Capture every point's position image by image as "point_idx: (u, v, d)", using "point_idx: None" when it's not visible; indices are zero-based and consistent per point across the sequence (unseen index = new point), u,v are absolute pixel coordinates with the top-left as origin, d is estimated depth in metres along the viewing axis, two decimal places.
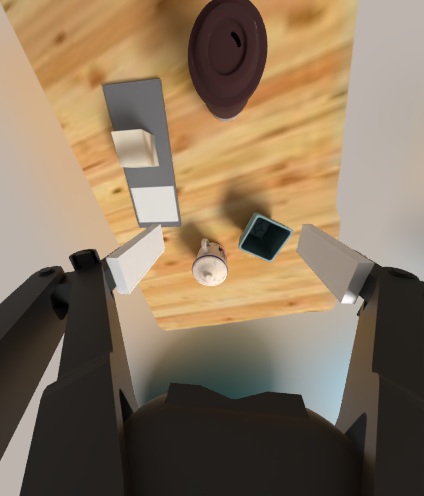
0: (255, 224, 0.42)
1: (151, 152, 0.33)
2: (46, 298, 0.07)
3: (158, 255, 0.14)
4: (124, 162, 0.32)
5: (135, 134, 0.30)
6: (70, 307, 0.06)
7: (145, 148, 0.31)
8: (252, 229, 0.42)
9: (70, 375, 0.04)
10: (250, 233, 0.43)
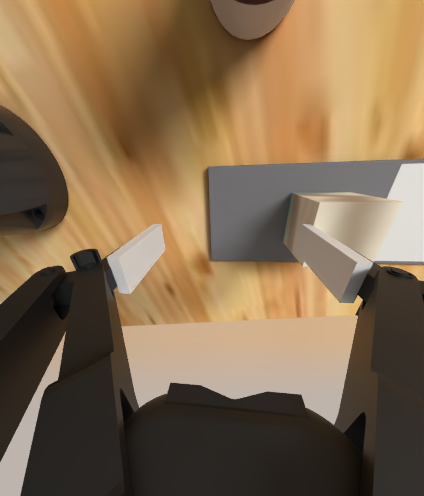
0: None
1: (345, 196, 0.14)
2: (47, 298, 0.07)
3: (159, 255, 0.15)
4: (366, 257, 0.14)
5: (325, 218, 0.13)
6: (71, 307, 0.06)
7: (358, 201, 0.12)
8: None
9: (71, 375, 0.04)
10: None
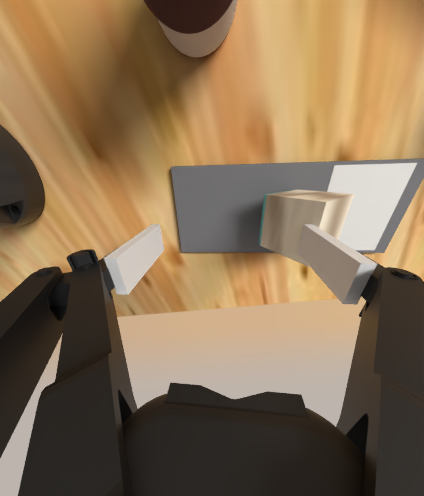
0: None
1: (314, 194, 0.16)
2: (44, 299, 0.07)
3: (157, 255, 0.14)
4: None
5: (326, 216, 0.13)
6: (68, 308, 0.06)
7: (337, 196, 0.14)
8: None
9: (68, 376, 0.04)
10: None
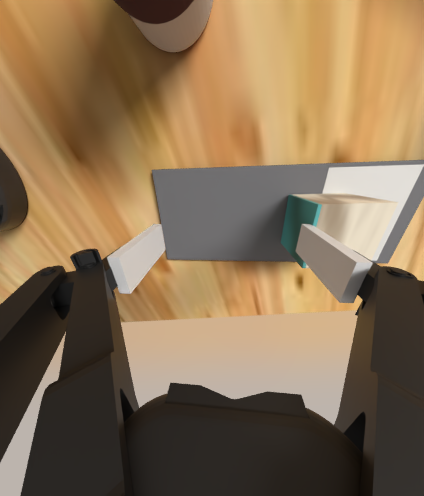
0: None
1: (334, 196, 0.15)
2: (48, 298, 0.07)
3: (159, 255, 0.15)
4: None
5: None
6: (71, 306, 0.06)
7: (361, 196, 0.15)
8: None
9: (71, 374, 0.04)
10: None
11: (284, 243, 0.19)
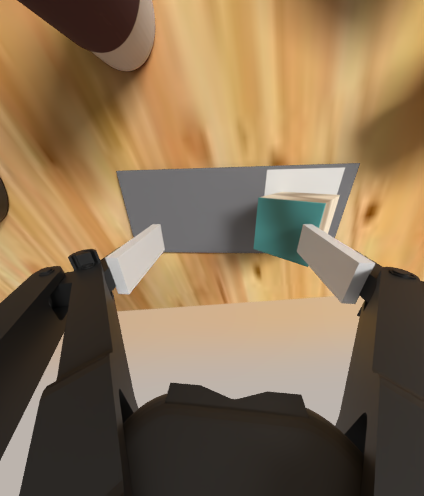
0: None
1: (295, 195, 0.17)
2: (46, 298, 0.07)
3: (158, 255, 0.14)
4: None
5: None
6: (69, 307, 0.06)
7: (306, 193, 0.18)
8: None
9: (70, 375, 0.04)
10: None
11: (263, 248, 0.18)
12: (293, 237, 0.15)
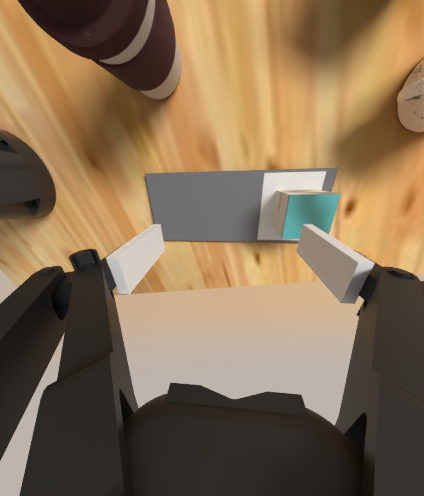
0: None
1: (299, 191, 0.23)
2: (46, 298, 0.07)
3: (158, 255, 0.14)
4: None
5: None
6: (70, 307, 0.06)
7: (296, 190, 0.25)
8: None
9: (70, 375, 0.04)
10: None
11: (292, 235, 0.22)
12: (318, 221, 0.21)
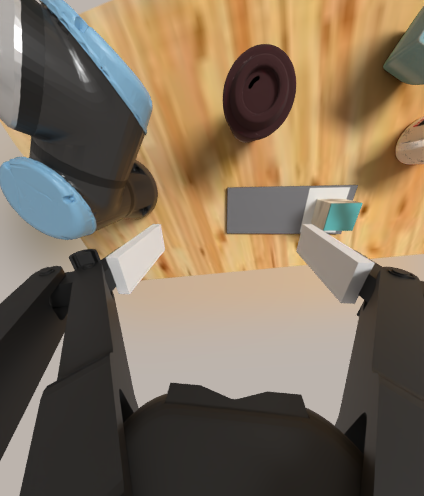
0: None
1: (334, 200, 0.36)
2: (46, 298, 0.07)
3: (158, 255, 0.14)
4: None
5: None
6: (70, 307, 0.06)
7: (330, 199, 0.38)
8: None
9: (70, 375, 0.04)
10: None
11: (330, 228, 0.35)
12: (347, 219, 0.34)
